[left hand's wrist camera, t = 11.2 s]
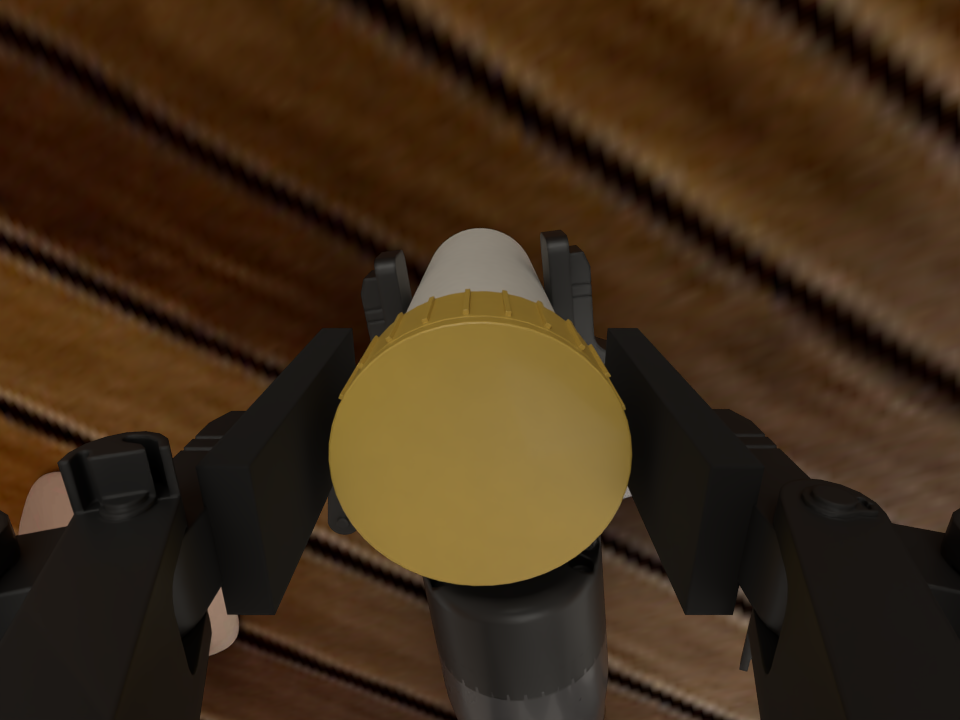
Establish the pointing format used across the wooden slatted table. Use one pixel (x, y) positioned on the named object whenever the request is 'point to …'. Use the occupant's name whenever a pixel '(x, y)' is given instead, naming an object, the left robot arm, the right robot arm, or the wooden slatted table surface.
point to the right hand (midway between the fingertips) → (469, 246)
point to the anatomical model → (55, 511)
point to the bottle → (480, 268)
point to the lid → (480, 441)
